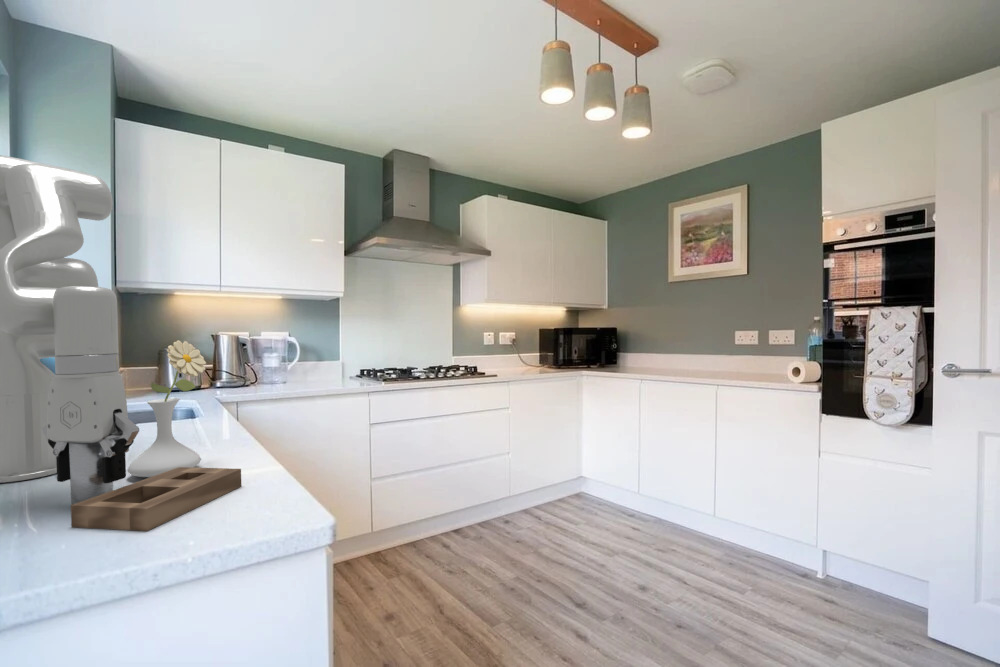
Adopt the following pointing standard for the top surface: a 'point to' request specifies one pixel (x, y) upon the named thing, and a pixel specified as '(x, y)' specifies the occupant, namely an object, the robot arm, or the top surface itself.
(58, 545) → the top surface
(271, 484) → the top surface
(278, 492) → the top surface
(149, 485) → the wooden compartment tray
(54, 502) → the top surface
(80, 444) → the grey metal block
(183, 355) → the flower in vase
